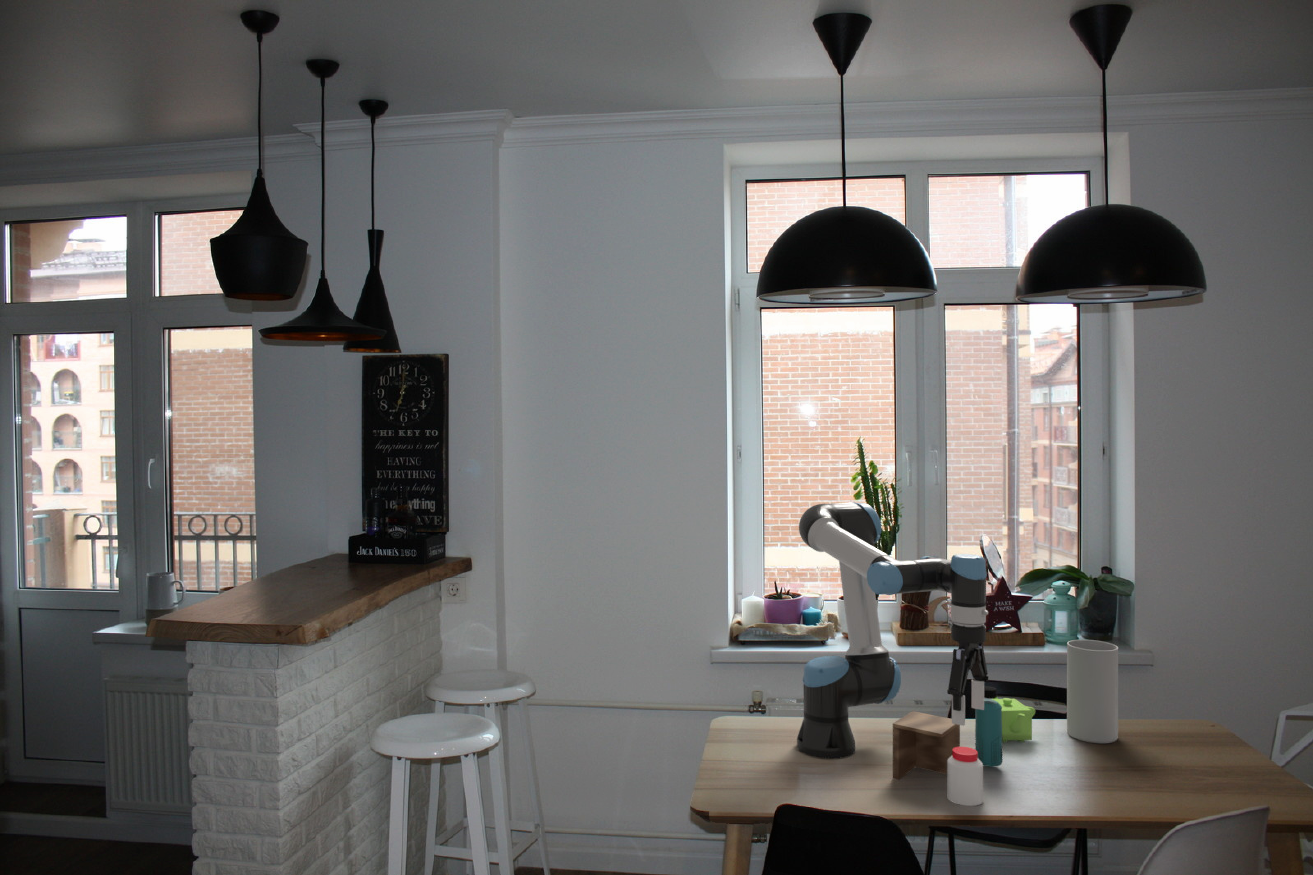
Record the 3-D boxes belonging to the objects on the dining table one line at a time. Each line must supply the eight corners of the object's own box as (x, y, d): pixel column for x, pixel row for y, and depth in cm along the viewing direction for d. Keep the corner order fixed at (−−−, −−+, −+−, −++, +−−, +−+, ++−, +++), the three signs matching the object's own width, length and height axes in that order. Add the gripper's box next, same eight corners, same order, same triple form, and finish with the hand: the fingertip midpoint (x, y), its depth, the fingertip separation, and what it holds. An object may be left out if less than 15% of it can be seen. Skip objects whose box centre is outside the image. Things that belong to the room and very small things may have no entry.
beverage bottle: (1005, 773, 217) (1005, 692, 216) (976, 771, 218) (976, 690, 218) (1000, 763, 223) (1000, 684, 223) (972, 762, 224) (972, 683, 224)
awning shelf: (892, 778, 214) (892, 723, 214) (912, 763, 223) (912, 711, 223) (941, 791, 207) (941, 734, 206) (959, 775, 216) (959, 720, 216)
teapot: (1024, 751, 232) (1024, 710, 232) (973, 740, 240) (973, 701, 240) (1041, 735, 244) (1041, 696, 244) (991, 725, 252) (991, 688, 252)
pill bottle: (941, 792, 206) (941, 745, 206) (973, 791, 206) (973, 744, 206) (955, 806, 198) (955, 757, 198) (989, 805, 199) (989, 756, 199)
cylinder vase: (1060, 727, 250) (1061, 639, 249) (1108, 729, 248) (1108, 640, 248) (1075, 743, 237) (1075, 650, 237) (1125, 745, 236) (1125, 651, 235)
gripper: (967, 635, 190) (967, 734, 190) (1001, 615, 210) (1001, 705, 210) (932, 631, 194) (932, 727, 195) (969, 612, 214) (969, 699, 214)
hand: (968, 716), depth 202 cm, fingers open, 13 cm apart
